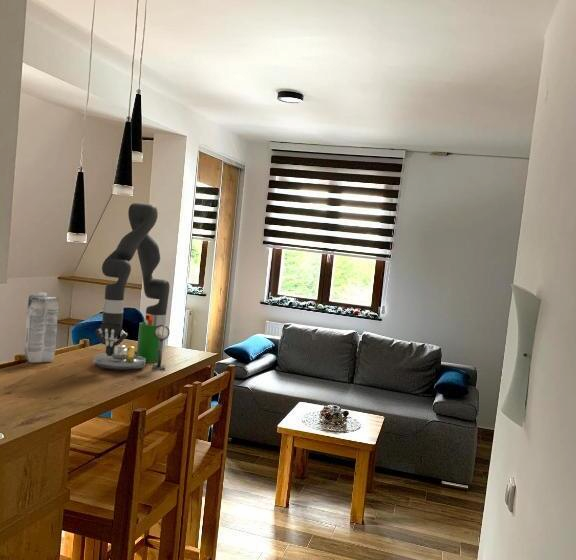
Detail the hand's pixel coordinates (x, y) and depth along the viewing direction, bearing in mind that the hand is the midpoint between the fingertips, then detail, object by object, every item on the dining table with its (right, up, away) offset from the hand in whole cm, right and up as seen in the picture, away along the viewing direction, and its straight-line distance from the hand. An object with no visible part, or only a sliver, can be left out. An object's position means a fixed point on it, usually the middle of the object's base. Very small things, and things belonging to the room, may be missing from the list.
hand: (109, 355), depth 241 cm
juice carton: (-30, -3, +6) cm, 31 cm away
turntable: (+2, -4, +9) cm, 10 cm away
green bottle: (+9, -6, +27) cm, 29 cm away
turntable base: (+1, -6, +9) cm, 11 cm away
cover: (+2, -2, +9) cm, 10 cm away
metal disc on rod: (+16, -7, +14) cm, 22 cm away
